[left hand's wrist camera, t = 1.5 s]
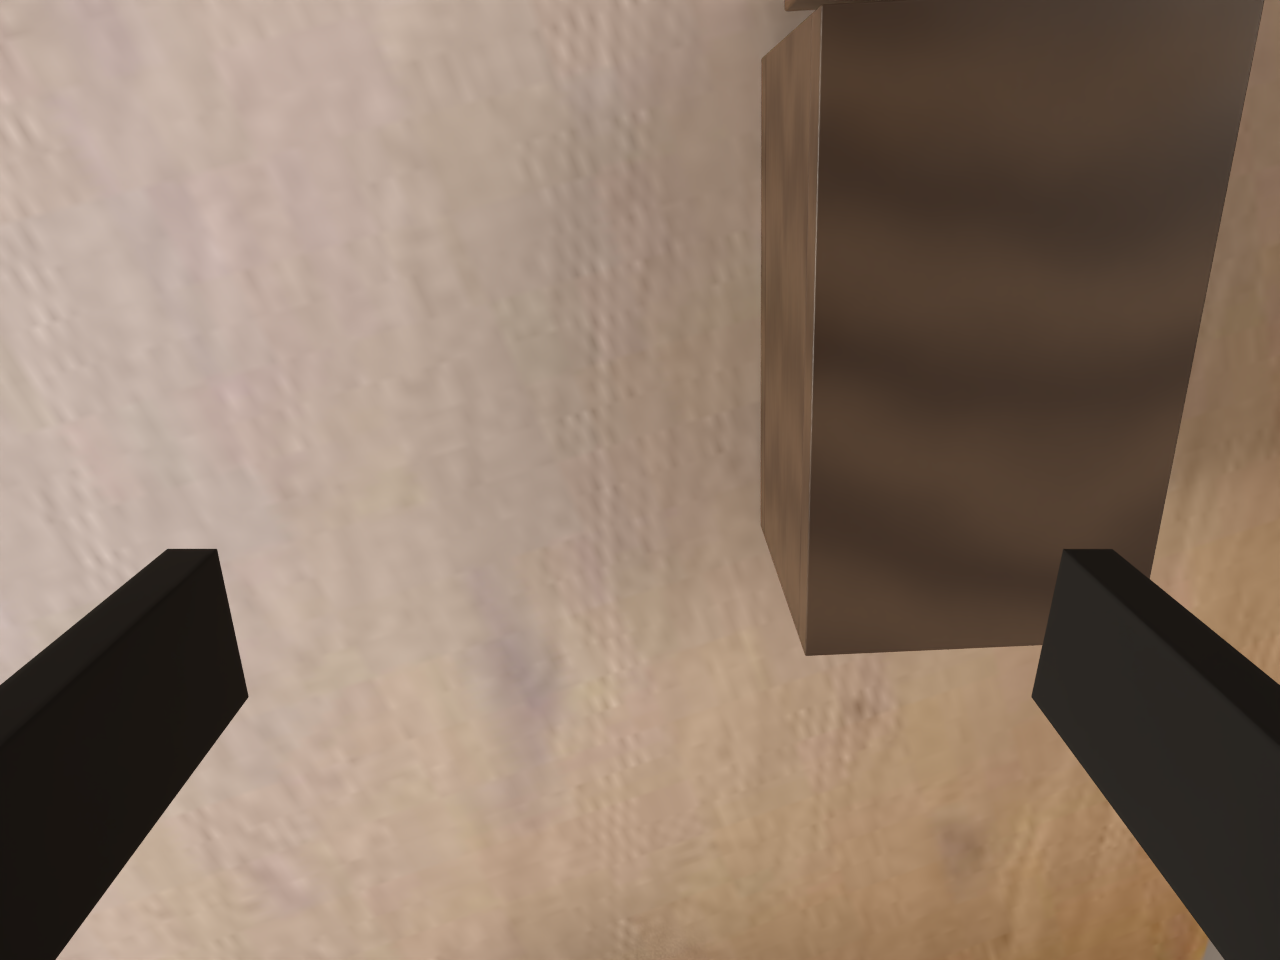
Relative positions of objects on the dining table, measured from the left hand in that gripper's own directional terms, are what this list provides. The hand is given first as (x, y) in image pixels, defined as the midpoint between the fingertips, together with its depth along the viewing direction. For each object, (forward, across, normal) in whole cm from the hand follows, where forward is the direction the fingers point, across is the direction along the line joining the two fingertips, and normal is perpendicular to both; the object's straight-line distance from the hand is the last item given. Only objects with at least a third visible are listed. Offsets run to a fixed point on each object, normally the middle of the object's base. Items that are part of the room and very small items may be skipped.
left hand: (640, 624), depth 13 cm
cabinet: (+20, -10, -2) cm, 23 cm away
